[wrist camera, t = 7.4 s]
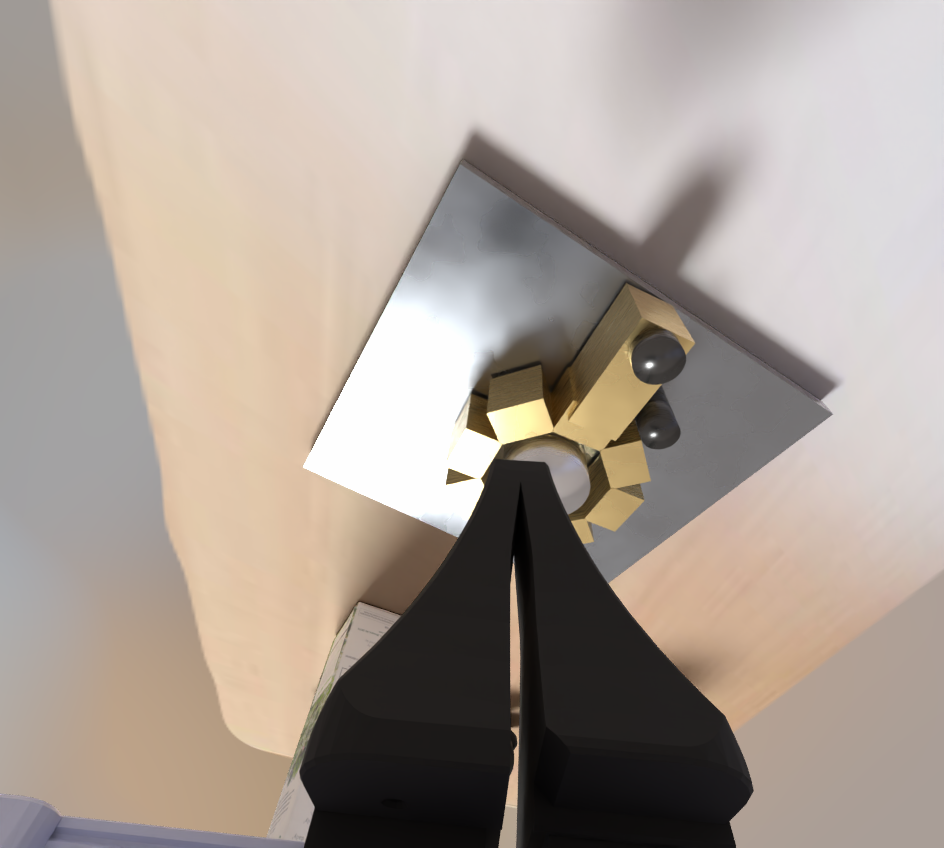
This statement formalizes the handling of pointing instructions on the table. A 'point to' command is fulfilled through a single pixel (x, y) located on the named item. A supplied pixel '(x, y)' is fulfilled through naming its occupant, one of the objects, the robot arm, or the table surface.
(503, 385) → the brass block wheel
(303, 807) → the syrup box
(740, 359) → the grey metal base plate
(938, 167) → the table surface
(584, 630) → the robot arm
